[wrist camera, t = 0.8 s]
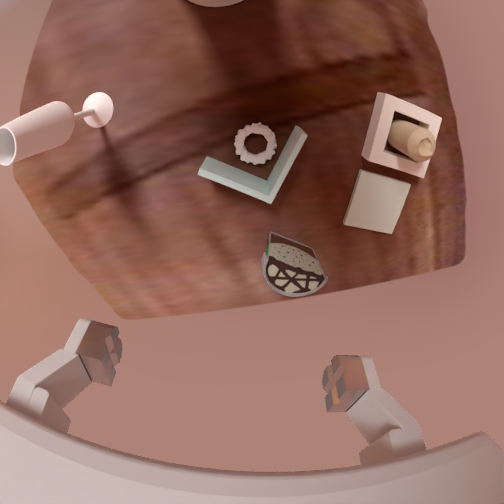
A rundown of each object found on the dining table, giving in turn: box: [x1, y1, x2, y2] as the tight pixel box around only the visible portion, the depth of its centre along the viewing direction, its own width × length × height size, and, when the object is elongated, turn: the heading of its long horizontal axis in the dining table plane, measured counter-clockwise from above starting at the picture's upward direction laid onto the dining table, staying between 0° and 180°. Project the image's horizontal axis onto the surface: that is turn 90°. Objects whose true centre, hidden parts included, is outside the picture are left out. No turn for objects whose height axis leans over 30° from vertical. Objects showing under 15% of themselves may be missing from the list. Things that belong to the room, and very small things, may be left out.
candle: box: [387, 119, 436, 162], centre depth 39 cm, size 6×6×10 cm
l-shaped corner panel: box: [197, 122, 308, 204], centre depth 43 cm, size 12×12×8 cm
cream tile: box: [343, 169, 411, 234], centre depth 50 cm, size 11×11×1 cm
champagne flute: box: [0, 92, 113, 166], centre depth 31 cm, size 7×7×24 cm
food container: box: [261, 231, 328, 297], centre depth 53 cm, size 12×6×10 cm, turn 67°
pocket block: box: [361, 92, 442, 178], centre depth 42 cm, size 12×12×4 cm
